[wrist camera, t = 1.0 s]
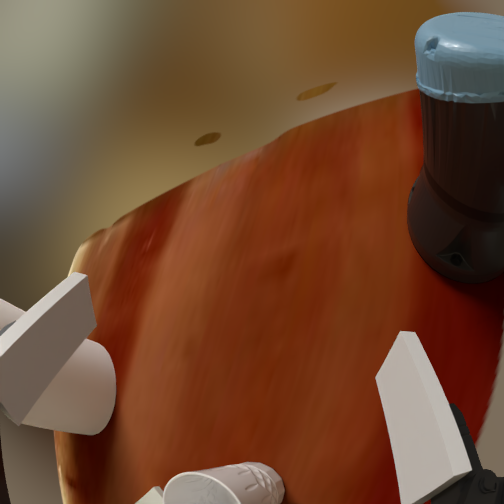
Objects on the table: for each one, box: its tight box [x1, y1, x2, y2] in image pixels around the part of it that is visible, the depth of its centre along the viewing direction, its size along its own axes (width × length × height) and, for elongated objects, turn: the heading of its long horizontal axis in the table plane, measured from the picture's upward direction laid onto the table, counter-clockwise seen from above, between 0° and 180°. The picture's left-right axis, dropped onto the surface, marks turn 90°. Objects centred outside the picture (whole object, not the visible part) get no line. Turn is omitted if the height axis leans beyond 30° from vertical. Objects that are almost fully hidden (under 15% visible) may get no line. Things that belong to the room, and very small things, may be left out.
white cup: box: [163, 462, 285, 504], centre depth 18 cm, size 8×8×10 cm
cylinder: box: [0, 299, 116, 435], centre depth 28 cm, size 17×17×28 cm
